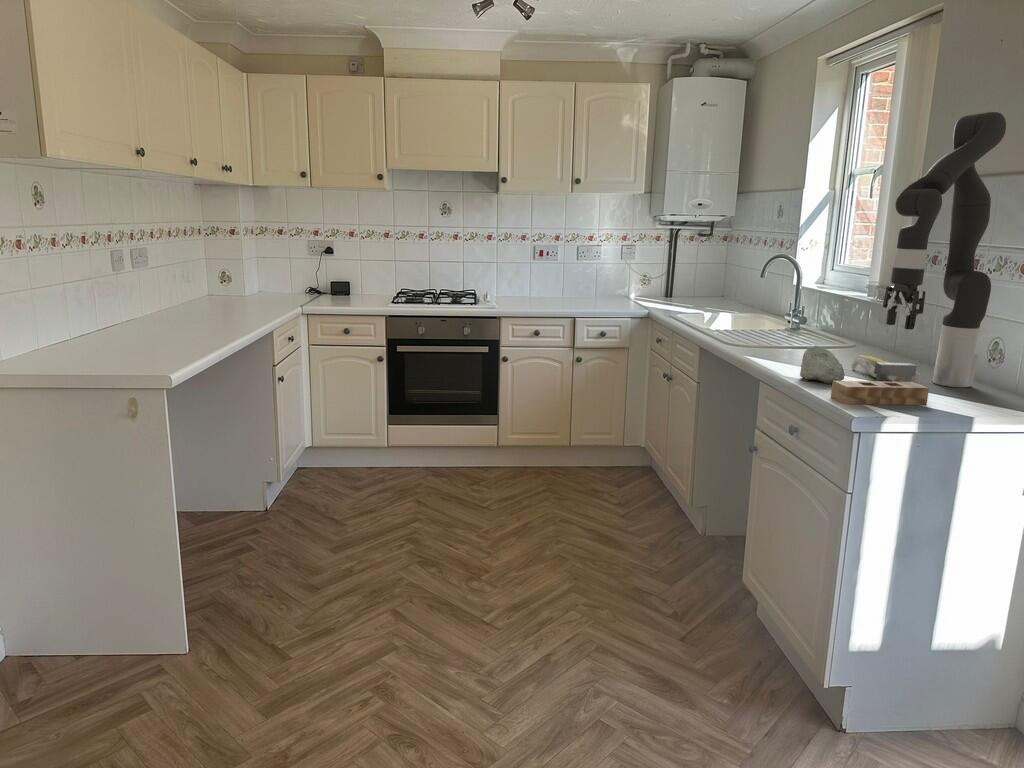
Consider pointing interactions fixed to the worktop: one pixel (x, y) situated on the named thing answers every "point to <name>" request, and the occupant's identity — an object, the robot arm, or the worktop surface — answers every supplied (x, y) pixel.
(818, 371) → the decorative stone
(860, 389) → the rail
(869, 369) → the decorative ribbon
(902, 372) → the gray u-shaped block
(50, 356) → the worktop surface
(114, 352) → the worktop surface
